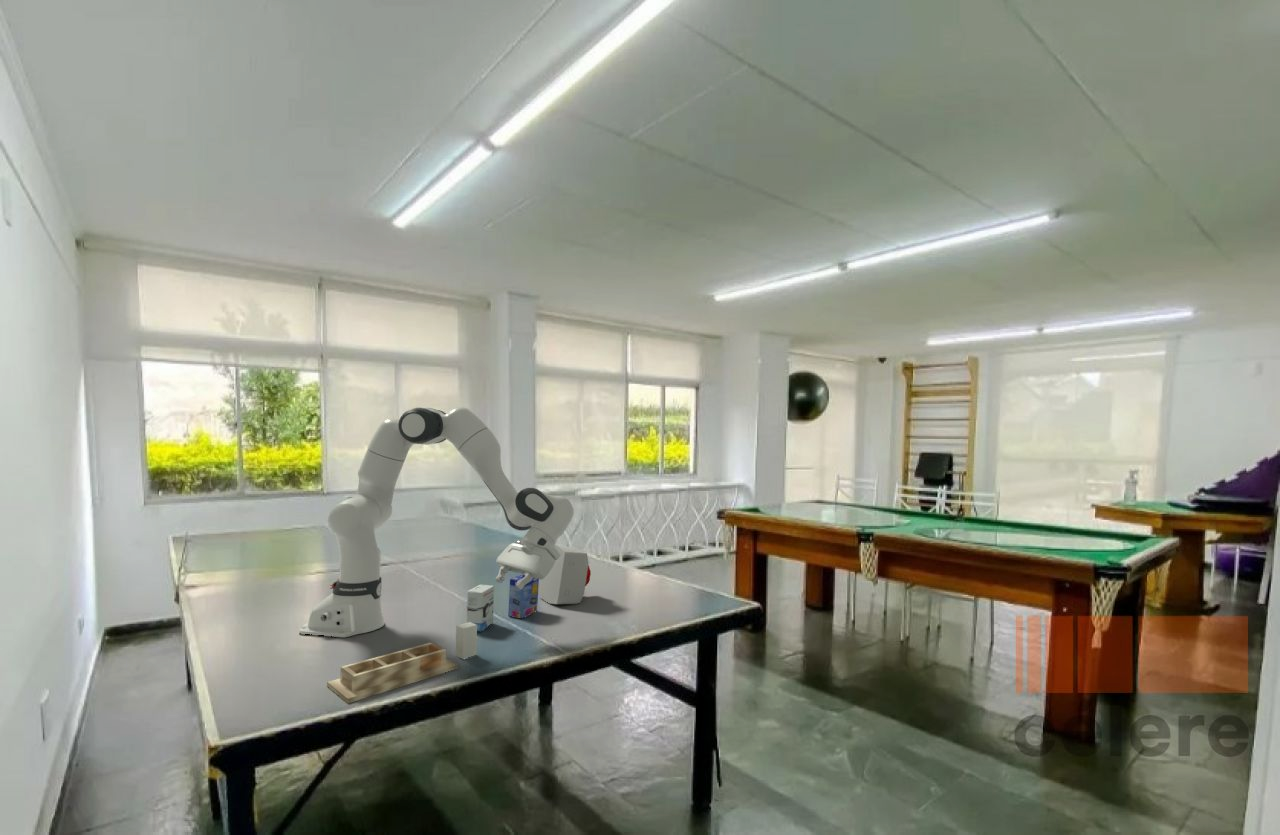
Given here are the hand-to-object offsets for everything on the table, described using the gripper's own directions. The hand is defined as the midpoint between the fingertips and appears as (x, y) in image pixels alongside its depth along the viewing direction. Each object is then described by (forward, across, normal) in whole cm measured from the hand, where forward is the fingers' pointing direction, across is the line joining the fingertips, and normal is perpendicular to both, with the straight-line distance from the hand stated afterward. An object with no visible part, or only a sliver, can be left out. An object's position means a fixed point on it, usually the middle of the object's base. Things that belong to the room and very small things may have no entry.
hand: (507, 584), depth 161 cm
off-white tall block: (+20, 0, +3) cm, 21 cm away
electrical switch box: (-17, -21, +40) cm, 49 cm away
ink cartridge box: (-2, -18, +25) cm, 31 cm away
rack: (+34, 0, -11) cm, 36 cm away
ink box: (+10, -17, +13) cm, 24 cm away
